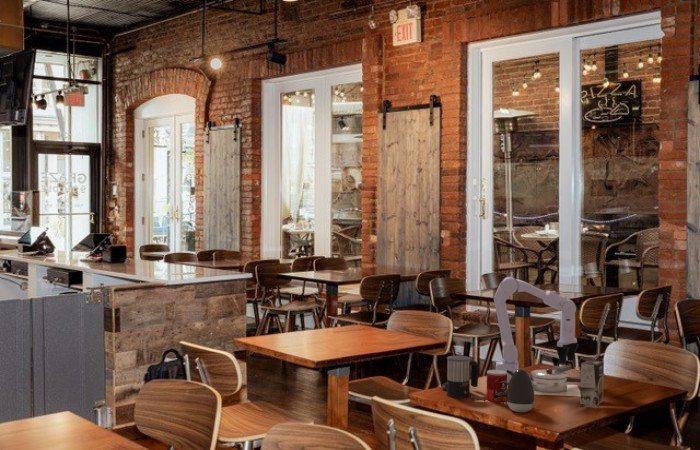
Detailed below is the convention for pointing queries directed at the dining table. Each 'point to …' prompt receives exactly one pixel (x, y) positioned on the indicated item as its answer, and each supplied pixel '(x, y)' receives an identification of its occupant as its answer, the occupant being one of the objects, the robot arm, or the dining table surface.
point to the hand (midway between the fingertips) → (566, 362)
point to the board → (571, 391)
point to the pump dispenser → (520, 391)
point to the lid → (552, 373)
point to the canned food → (496, 385)
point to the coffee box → (591, 383)
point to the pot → (552, 384)
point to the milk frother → (460, 376)
